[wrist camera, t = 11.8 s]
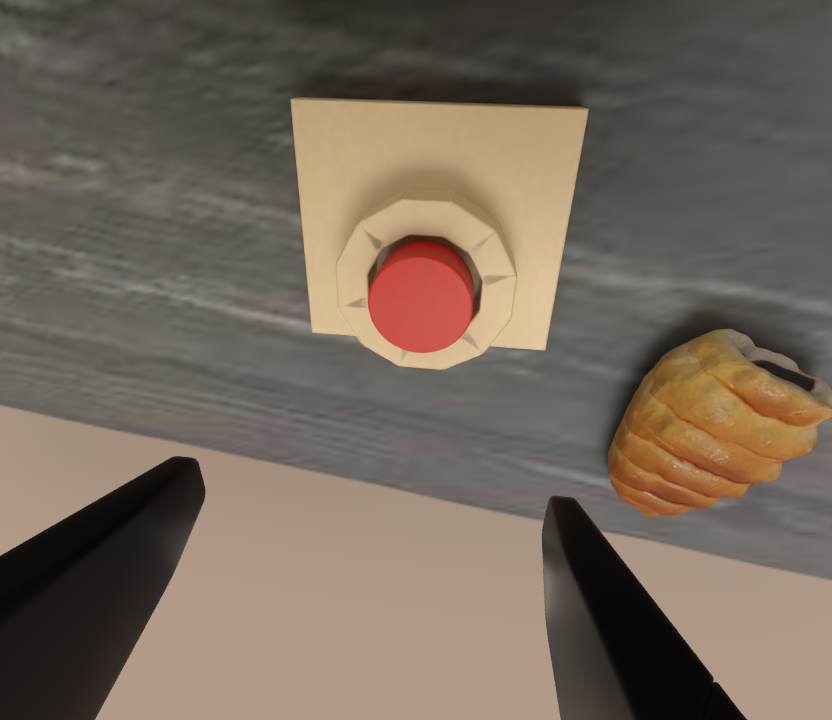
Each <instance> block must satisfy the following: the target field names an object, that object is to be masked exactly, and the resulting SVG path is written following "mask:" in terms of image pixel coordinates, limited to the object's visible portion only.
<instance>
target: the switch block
mask: <svg viewBox="0 0 832 720" xmlns="http://www.w3.org/2000/svg"><path fill="white" fill-rule="evenodd" d="M291 111H292V122H293V133H294V144H295V154H296V165H297V176H298V187H299V197H300V208H301V219H302V230H303V241H304V251H305V262H306V273H307V284H308V294H309V305H310V316H311V327H312V332H313V333H326V334H339V335H352V336H357V338H358V339H359V341H360V342H361V344H363V345H364V346H366V347H367V348H369V349H371V350H372V351H374V352H376V353H378V354H379V355H381V356H383V357H384V358H386V359H388V360H389V361H391V362H393V363H395V364H396V365H398V366H403V367H416V368H428V369H440V370H442V369H446V368H449V367H451V366H454V365H456V364H459V363H461V362H464V361H466V360H469V359H471V358H474V357H476V356H479V355H481V354H483V353H484V352H485V351H486V350H487V348H488V347H489V346H494V347H507V348H519V349H532V350H545V349H546V344H547V338H548V333H549V327H550V322H551V316H552V311H553V305H554V299H555V294H556V288H557V283H558V277H559V272H560V266H561V261H562V255H563V250H564V244H565V239H566V233H567V227H568V222H569V216H570V211H571V205H572V200H573V194H574V189H575V183H576V178H577V172H578V167H579V161H580V156H581V150H582V144H583V139H584V133H585V128H586V122H587V117H588V109H587V108H584V107H578V106H548V105H518V104H489V103H459V102H429V101H399V100H369V99H339V98H309V97H300V98H292V99H291ZM416 241H431V242H436V243H440V244H442V245H445V246H447V247H449V248H450V249H452V250H453V251H455V252H456V253H457V254H458V255H459V256H461V257H462V259H463V260H464V261H465V262H466V264H467V266H468V267H469V269H470V272H471V274H472V278H473V283H474V299H473V313H472V318H471V321H470V324H469V326H468V328H467V330H466V331H465V333H464V334H463V335H462V336H461V337H460V338H459V339H458V340H457V341H456V342H455V343H453V344H452V345H450V346H448V347H446V348H444V349H442V350H439V351H435V352H429V353H416V352H410V351H406V350H404V349H401V348H399V347H397V346H395V345H393V344H392V343H390V342H389V341H387V340H386V339H385V338H384V337H383V336H382V335H381V334H380V333H379V331H378V330H377V329H376V327H375V325H374V324H373V322H372V319H371V317H370V313H369V309H368V295H369V290H370V287H371V284H372V282H373V280H374V278H375V276H376V275H377V273H378V271H379V269H380V267H381V265H382V263H383V262H384V260H385V259H386V258H387V257H388V256H389V254H390V253H392V252H393V251H394V250H395V249H397V248H399V247H400V246H402V245H405V244H407V243H411V242H416Z"/></svg>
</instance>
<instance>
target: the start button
mask: <svg viewBox="0 0 832 720" xmlns="http://www.w3.org/2000/svg"><path fill="white" fill-rule="evenodd" d="M473 299H474V283H473V278H472V274H471V272H470V269H469V267H468V266H467V264H466V262H465V261H464V260H463V259H462V257H461V256H459V255H458V254H457V253H456V252H455V251H453V250H452V249H450V248H449V247H447V246H445V245H442V244H440V243H436V242H431V241H416V242H411V243H407V244H405V245H402V246H400V247H399V248H397V249H395V250H394V251H393V252H392V253H390V254H389V256H388V257H387V258H386V259H385V260H384V262H383V263H382V265H381V267H380V269H379V271H378V273H377V275H376V276H375V278H374V280H373V282H372V284H371V287H370V290H369V295H368V309H369V313H370V317H371V319H372V322H373V324H374V325H375V327H376V329H377V330H378V331H379V333H380V334H381V335H382V336H383V337H384V338H385V339H386V340H387V341H389V342H390V343H392V344H393V345H395V346H397V347H399V348H401V349H404V350H406V351H410V352H416V353H429V352H435V351H439V350H442V349H444V348H446V347H448V346H450V345H452V344H453V343H455V342H456V341H457V340H458V339H459V338H460V337H461V336H462V335H463V334H464V333H465V331H466V330H467V328H468V326H469V324H470V321H471V318H472V313H473Z"/></svg>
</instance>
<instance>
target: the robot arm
mask: <svg viewBox="0 0 832 720" xmlns="http://www.w3.org/2000/svg"><path fill="white" fill-rule="evenodd" d="M204 499H205V486H204V482H203V478H202V474H201V471H200V467H199V463H198V461H197V460H196V459H194V458H189V457H180V456H175V457H172V458H170V459H168V460H166V461H164V462H163V463H161V464H159V465H158V466H156V467H154V468H152V469H151V470H149V471H147V472H145V473H144V474H142V475H140V476H138V477H137V478H135V479H133V480H131V481H130V482H128V483H126V484H124V485H123V486H121V487H119V488H118V489H116V490H114V491H112V492H111V493H109V494H107V495H105V496H104V497H102V498H100V499H98V500H97V501H95V502H93V503H92V504H90V505H88V506H86V507H85V508H83V509H81V510H79V511H77V512H76V513H74V514H72V515H70V516H69V517H67V518H65V519H64V520H62V521H60V522H58V523H57V524H55V525H53V526H51V527H50V528H48V529H46V530H44V531H43V532H41V533H39V534H38V535H36V536H34V537H32V538H30V539H29V540H27V541H25V542H23V543H22V544H20V545H18V546H17V547H15V548H13V549H11V550H10V551H8V552H6V553H4V554H3V555H1V556H0V720H95V719H96V717H97V715H98V713H99V711H100V709H101V707H102V706H103V704H104V702H105V700H106V698H107V696H108V694H109V693H110V691H111V689H112V687H113V685H114V683H115V682H116V680H117V678H118V676H119V674H120V672H121V671H122V669H123V667H124V665H125V663H126V661H127V659H128V658H129V656H130V654H131V652H132V650H133V648H134V646H135V644H136V643H137V641H138V639H139V637H140V635H141V633H142V632H143V630H144V628H145V626H146V624H147V622H148V621H149V619H150V617H151V615H152V613H153V611H154V610H155V608H156V606H157V604H158V602H159V600H160V598H161V597H162V595H163V593H164V591H165V589H166V587H167V585H168V583H169V581H170V579H171V578H172V576H173V573H174V571H175V569H176V567H177V565H178V562H179V560H180V558H181V555H182V553H183V550H184V548H185V546H186V543H187V541H188V538H189V536H190V534H191V531H192V529H193V526H194V524H195V522H196V519H197V517H198V514H199V512H200V510H201V507H202V505H203V502H204ZM542 552H543V574H544V596H545V597H544V598H545V615H546V627H547V635H548V642H549V648H550V654H551V661H552V667H553V673H554V680H555V686H556V692H557V698H558V704H559V711H560V717H561V720H747V719H746V718H745V717H744V716H743V714H742V713H741V712H740V711H739V709H738V708H737V707H736V705H735V704H734V703H733V702H732V701H731V699H730V698H729V696H728V695H727V694H726V693H725V691H724V690H723V689H722V687H721V686H720V685H719V684H718V683H717V682H713V680H714V679H713V676H712V675H711V674H710V672H709V671H708V670H707V669H706V667H705V666H704V665H703V663H702V662H701V661H700V659H699V658H698V657H697V655H696V654H695V653H694V652H693V650H692V649H691V648H690V647H689V645H688V644H687V643H686V641H685V640H684V639H683V637H682V636H681V635H680V634H679V632H678V631H677V630H676V628H675V627H674V626H673V625H672V623H671V622H670V621H669V619H668V618H667V617H666V616H665V614H664V613H663V612H662V610H661V609H660V608H659V607H658V605H657V604H656V603H655V601H654V600H653V599H652V597H651V596H650V595H649V594H648V592H647V591H646V590H645V588H644V587H643V586H642V585H641V583H640V582H639V581H638V579H636V577H635V576H634V574H633V573H632V572H631V570H630V569H629V568H628V567H627V565H626V564H625V563H624V561H623V560H622V559H621V558H620V556H619V555H618V554H617V552H616V551H615V550H614V549H613V547H612V546H611V545H610V543H609V542H608V541H607V539H606V538H605V537H604V536H603V534H602V533H601V532H600V530H599V529H598V528H597V527H596V525H595V524H594V523H593V521H592V520H591V519H590V518H589V516H588V515H587V514H586V512H585V511H584V510H583V509H582V507H581V506H580V505H579V503H578V502H577V501H576V500H575V499H574V498H571V497H562V496H552V497H550V499H549V502H548V506H547V510H546V515H545V519H544V524H543V529H542Z"/></svg>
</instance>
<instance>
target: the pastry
mask: <svg viewBox="0 0 832 720" xmlns="http://www.w3.org/2000/svg"><path fill="white" fill-rule="evenodd" d="M831 417H832V390H831V389H830V387H829V386H828V385H827V384H826V382H825V381H823V380H822V379H819V378H815V377H812V376H809V375H807V374H805V373H803V372H802V371H801V370H800V369H799V368H798V365H797V364H796V363H795V362H794V361H793V360H791V359H790V358H788V357H785V356H784V355H782V354H779V353H774V352H771V351H769V350H767V349H763V348H757V347H755V345H754V343H753V341H752V340H751V339H750V338H749V337H748V336H747V335H745V334H742V333H739V332H737V331H735V330H733V329H720V330H714V331H711V332H709V333H706V334H704V335H701V336H699V337H697V338H695V339H693V340H691V341H689V342H687V343H685V344H682V345H680V346H678V347H676V348H674V349H672V350H671V351H669V352H668V353H666V354H664V355H663V356H662V358H661V359H660V360H659V362H658V363H657V364H656V365H655V366H654V368H653V369H652V370H651V371H650V372H649V373H648V374H646V375H645V376H644V378H643V380H642V382H641V384H640V386H639V388H638V389H637V390H636V391H635V393H634V396H633V398H632V400H631V402H630V403H629V405H628V407H627V409H626V411H625V414H624V416H623V419H622V421H621V422H620V425H619V427H618V429H617V431H616V433H615V436H614V439H613V441H612V444H611V446H610V448H609V452H608V470H609V476H610V480H611V484H612V486H613V487H614V489H615V491H616V493H617V495H618V496H619V497H620V498H621V499H623V500H624V501H625V502H627V503H629V504H630V505H632V506H634V507H636V508H637V509H638V510H639V511H640V512H641V513H643V514H644V515H646V516H648V517H655V516H663V515H668V516H672V515H678V514H682V513H685V512H688V511H691V510H693V509H696V508H702V509H708V508H710V507H711V506H712V505H713V504H714V503H715V502H716V501H717V500H719V499H721V498H723V497H733V498H738V497H741V496H742V495H743V494H744V493H745V492H746V490H747V489H748V487H749V486H750V485H751V484H755V483H760V482H762V481H765V482H766V481H773V480H775V479H777V478H778V476H779V475H780V473H781V471H782V463H783V461H784V460H788V459H790V458H794V457H801V456H805V455H808V454H809V453H810V452H811V451H813V449H814V447H815V445H816V442H817V429H816V428H817V425H818V424H819V423H820V422H822V421H824V420H827V419H829V418H831Z"/></svg>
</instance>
